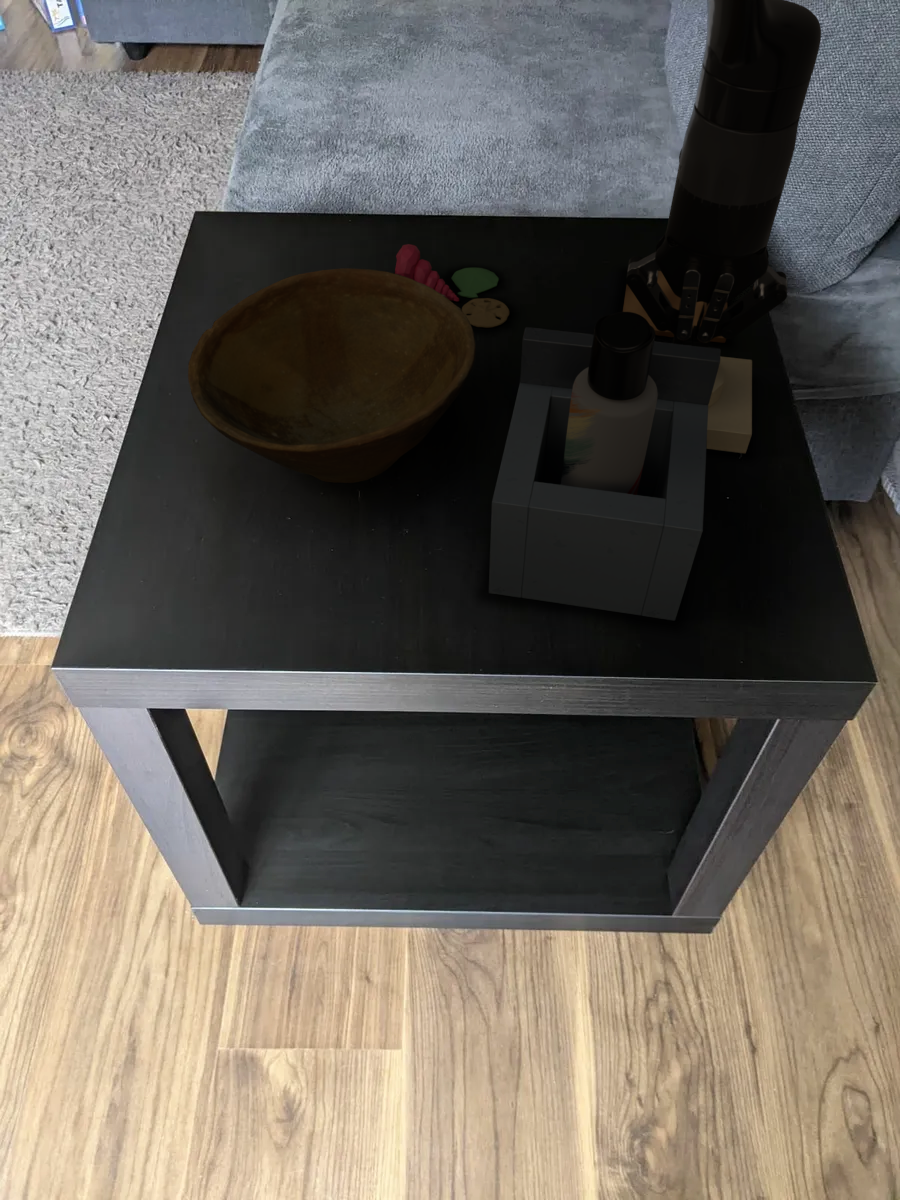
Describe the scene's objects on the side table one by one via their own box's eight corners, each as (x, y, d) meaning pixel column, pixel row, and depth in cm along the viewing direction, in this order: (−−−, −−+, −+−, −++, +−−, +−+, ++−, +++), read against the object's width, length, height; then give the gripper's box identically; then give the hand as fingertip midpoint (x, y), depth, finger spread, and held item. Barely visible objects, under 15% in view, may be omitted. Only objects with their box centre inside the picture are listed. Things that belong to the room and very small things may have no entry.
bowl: (191, 396, 85) (163, 301, 77) (427, 340, 89) (424, 245, 82) (244, 570, 72) (217, 478, 64) (516, 494, 77) (522, 399, 69)
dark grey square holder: (683, 487, 77) (721, 348, 66) (675, 621, 69) (716, 487, 58) (516, 465, 79) (525, 326, 68) (488, 593, 71) (493, 458, 59)
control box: (746, 379, 85) (757, 343, 82) (745, 453, 79) (757, 418, 76) (615, 364, 87) (620, 328, 84) (604, 436, 81) (610, 400, 78)
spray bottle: (638, 529, 74) (686, 316, 58) (606, 576, 71) (648, 365, 56) (575, 501, 76) (605, 288, 60) (541, 546, 73) (563, 334, 57)
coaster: (726, 282, 95) (728, 277, 94) (725, 343, 89) (726, 338, 88) (628, 272, 96) (629, 267, 95) (619, 331, 90) (620, 326, 89)
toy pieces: (382, 330, 90) (379, 290, 87) (401, 264, 97) (399, 225, 94) (505, 339, 89) (507, 299, 86) (516, 272, 96) (518, 233, 93)
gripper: (634, 191, 65) (603, 388, 79) (830, 210, 63) (763, 407, 77) (641, 139, 69) (611, 334, 83) (824, 155, 68) (762, 351, 81)
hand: (684, 369), depth 80 cm, fingers closed
